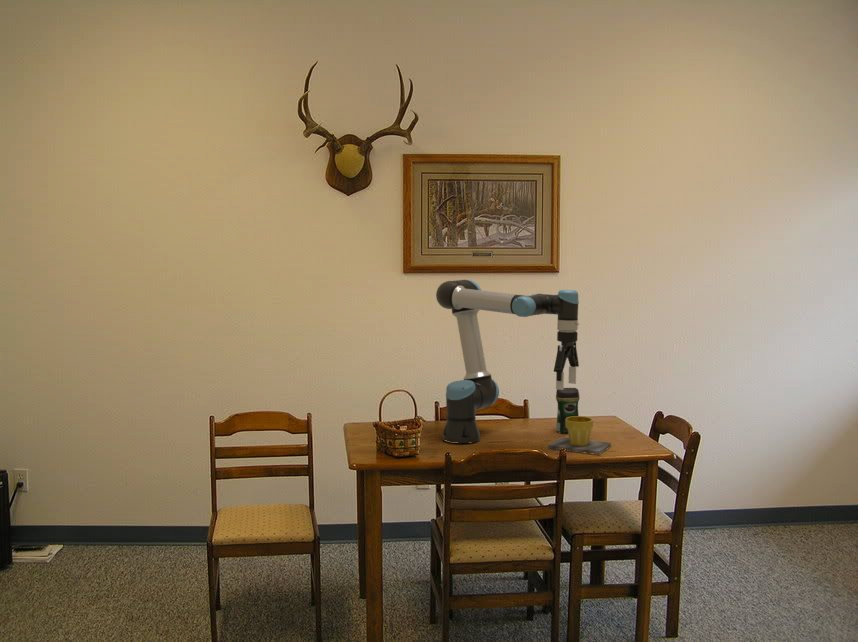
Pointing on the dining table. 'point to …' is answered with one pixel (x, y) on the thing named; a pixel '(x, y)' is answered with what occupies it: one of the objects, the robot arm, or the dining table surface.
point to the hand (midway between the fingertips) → (566, 386)
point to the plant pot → (579, 429)
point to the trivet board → (592, 446)
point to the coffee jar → (566, 406)
